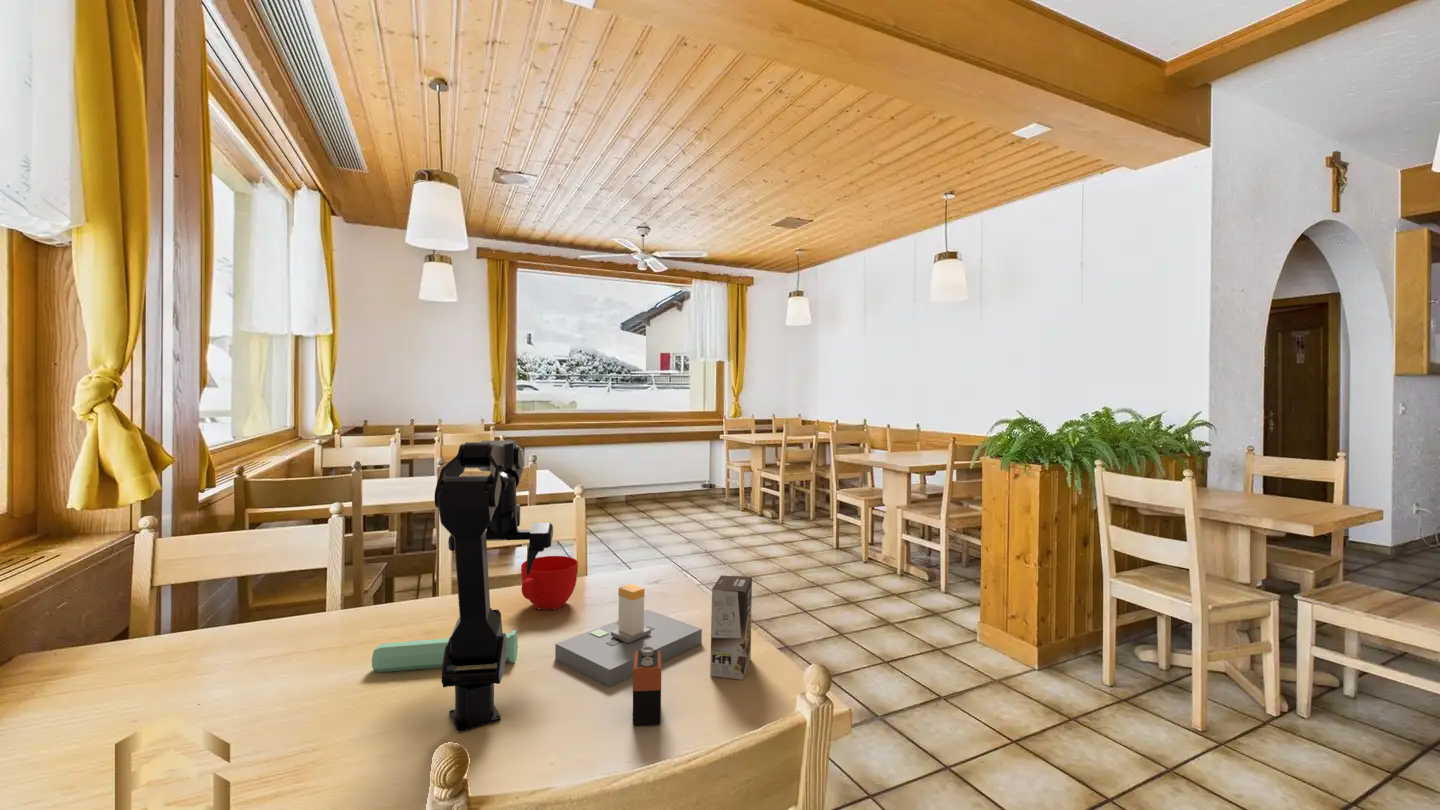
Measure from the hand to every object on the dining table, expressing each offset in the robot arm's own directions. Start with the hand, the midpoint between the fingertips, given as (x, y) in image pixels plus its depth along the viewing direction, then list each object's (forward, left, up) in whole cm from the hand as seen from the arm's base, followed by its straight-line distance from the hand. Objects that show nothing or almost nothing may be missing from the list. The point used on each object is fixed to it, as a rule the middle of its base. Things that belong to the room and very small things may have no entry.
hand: (504, 574), depth 123 cm
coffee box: (-32, -33, -15) cm, 48 cm away
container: (-2, +11, -15) cm, 19 cm away
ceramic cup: (+16, -14, -15) cm, 26 cm away
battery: (-38, -12, -15) cm, 43 cm away
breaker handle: (-16, -20, -11) cm, 28 cm away
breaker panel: (-16, -20, -14) cm, 29 cm away
